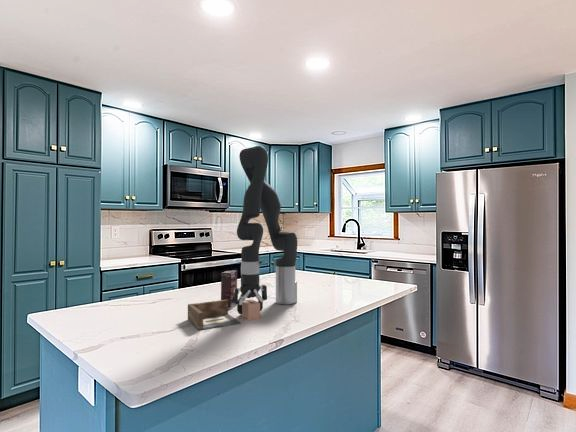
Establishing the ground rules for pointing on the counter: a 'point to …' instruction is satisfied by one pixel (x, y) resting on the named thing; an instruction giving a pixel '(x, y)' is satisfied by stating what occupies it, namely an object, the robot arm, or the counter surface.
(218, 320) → the arena
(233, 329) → the counter surface
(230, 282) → the supplement box
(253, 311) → the terracotta block
